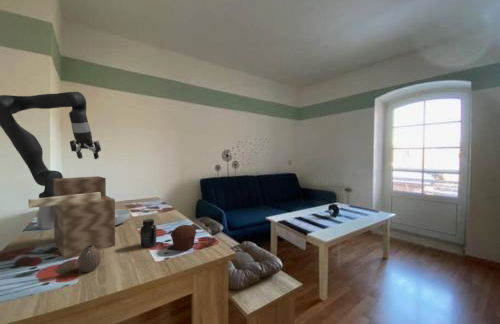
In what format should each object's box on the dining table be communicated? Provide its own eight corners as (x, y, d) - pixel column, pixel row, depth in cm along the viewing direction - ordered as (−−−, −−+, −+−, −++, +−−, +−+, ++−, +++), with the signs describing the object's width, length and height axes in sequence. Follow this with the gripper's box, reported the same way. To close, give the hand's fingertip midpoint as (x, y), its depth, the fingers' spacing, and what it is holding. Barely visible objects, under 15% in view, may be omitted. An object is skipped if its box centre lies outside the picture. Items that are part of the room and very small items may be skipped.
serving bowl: (137, 222, 129) (137, 211, 128) (99, 233, 111) (99, 220, 111) (120, 217, 139) (120, 207, 139) (83, 225, 121) (83, 214, 121)
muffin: (189, 240, 103) (189, 220, 103) (201, 247, 95) (201, 226, 95) (166, 247, 95) (166, 226, 95) (176, 255, 87) (176, 232, 87)
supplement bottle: (159, 243, 99) (159, 218, 99) (148, 249, 93) (148, 223, 92) (148, 240, 101) (148, 217, 101) (137, 246, 95) (137, 221, 95)
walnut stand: (63, 260, 82) (63, 184, 81) (54, 242, 98) (53, 178, 98) (115, 245, 96) (114, 180, 95) (99, 231, 112) (98, 176, 111)
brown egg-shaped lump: (86, 264, 79) (86, 242, 79) (105, 264, 79) (105, 242, 79) (72, 275, 72) (72, 250, 72) (92, 274, 72) (92, 250, 72)
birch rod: (28, 208, 78) (28, 200, 78) (28, 206, 80) (28, 199, 80) (100, 199, 95) (100, 192, 95) (99, 198, 97) (99, 192, 97)
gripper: (99, 129, 114) (105, 156, 119) (73, 128, 113) (80, 156, 118) (90, 132, 107) (97, 161, 112) (62, 131, 106) (70, 160, 111)
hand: (88, 158), depth 115 cm, fingers open, 8 cm apart
